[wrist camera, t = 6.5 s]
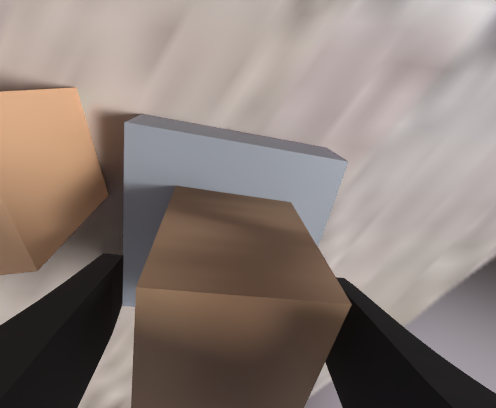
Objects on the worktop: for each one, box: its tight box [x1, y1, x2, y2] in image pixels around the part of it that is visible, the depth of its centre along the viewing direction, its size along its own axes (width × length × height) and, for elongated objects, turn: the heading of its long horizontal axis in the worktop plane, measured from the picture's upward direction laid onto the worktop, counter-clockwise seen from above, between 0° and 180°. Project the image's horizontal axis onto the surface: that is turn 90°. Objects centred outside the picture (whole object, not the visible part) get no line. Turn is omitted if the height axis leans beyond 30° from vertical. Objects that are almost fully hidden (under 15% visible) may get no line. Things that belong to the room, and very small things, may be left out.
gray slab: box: [122, 114, 348, 307], centre depth 14 cm, size 9×9×3 cm
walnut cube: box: [131, 186, 352, 408], centre depth 10 cm, size 5×5×6 cm
